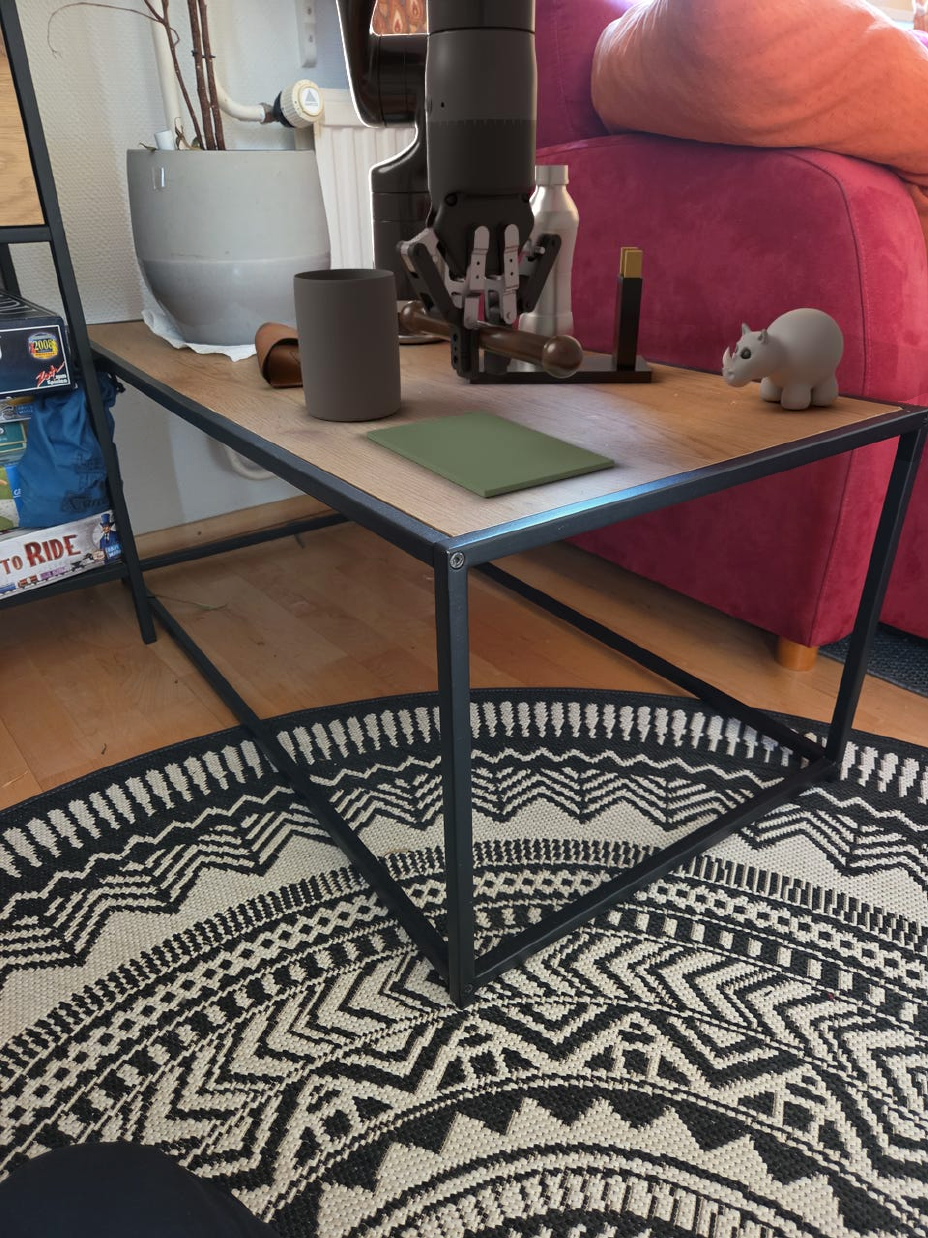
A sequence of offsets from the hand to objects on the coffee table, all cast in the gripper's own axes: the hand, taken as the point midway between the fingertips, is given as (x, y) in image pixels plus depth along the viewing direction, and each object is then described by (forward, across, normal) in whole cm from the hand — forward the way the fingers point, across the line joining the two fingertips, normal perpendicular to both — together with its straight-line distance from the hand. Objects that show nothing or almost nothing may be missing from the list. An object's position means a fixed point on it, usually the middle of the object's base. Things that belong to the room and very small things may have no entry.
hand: (481, 374), depth 66 cm
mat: (+6, 0, 0) cm, 6 cm away
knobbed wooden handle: (-3, 0, 0) cm, 3 cm away
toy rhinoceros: (+6, +30, -4) cm, 31 cm away
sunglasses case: (+6, 0, +38) cm, 39 cm away
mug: (+6, -2, +20) cm, 21 cm away
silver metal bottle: (+6, +28, +28) cm, 40 cm away
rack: (+6, +22, +18) cm, 29 cm away
